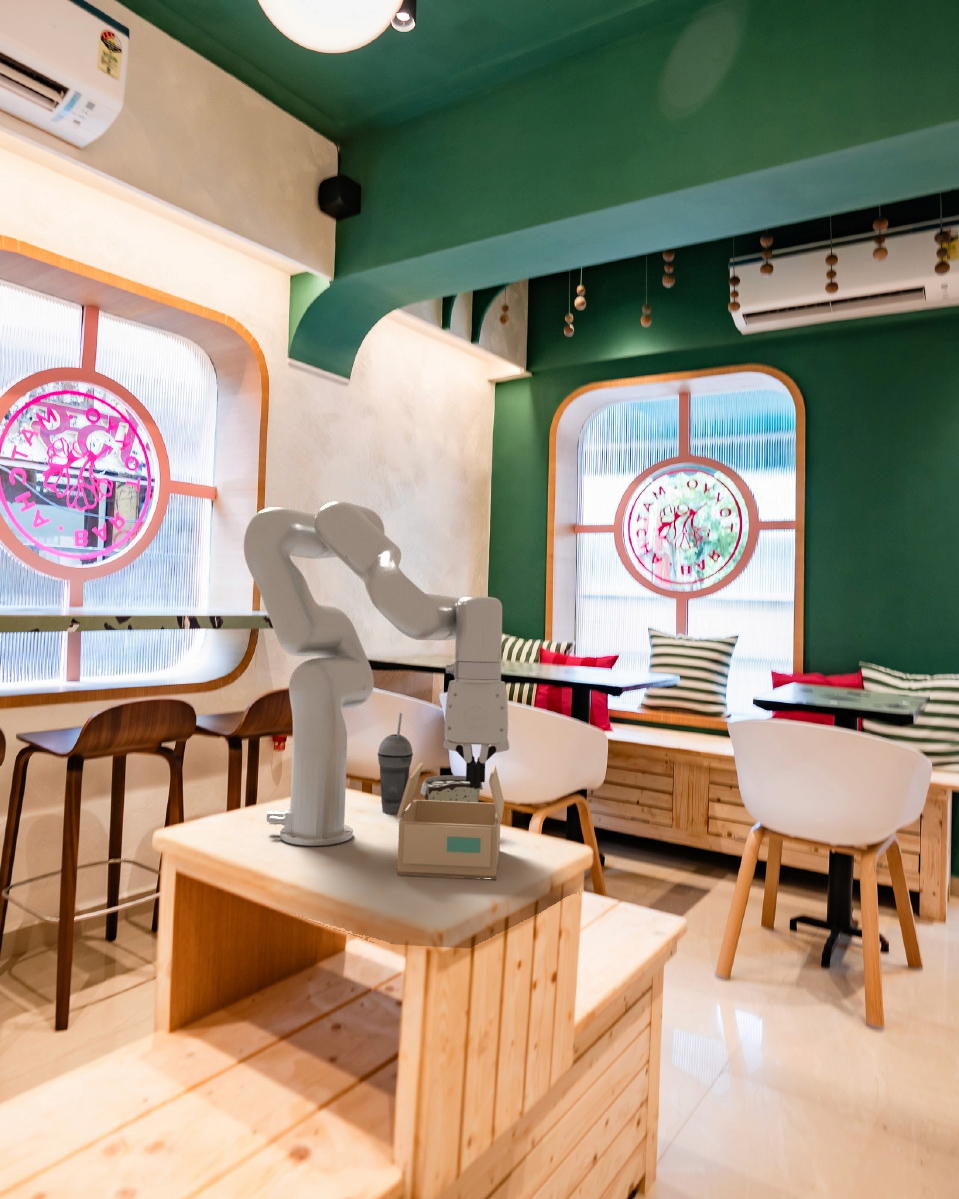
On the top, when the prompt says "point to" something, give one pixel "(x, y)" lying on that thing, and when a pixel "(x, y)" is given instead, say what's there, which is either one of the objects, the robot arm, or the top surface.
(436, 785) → the food container
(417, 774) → the left flap
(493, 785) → the right flap
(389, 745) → the beverage cup
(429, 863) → the carton
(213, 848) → the top surface
